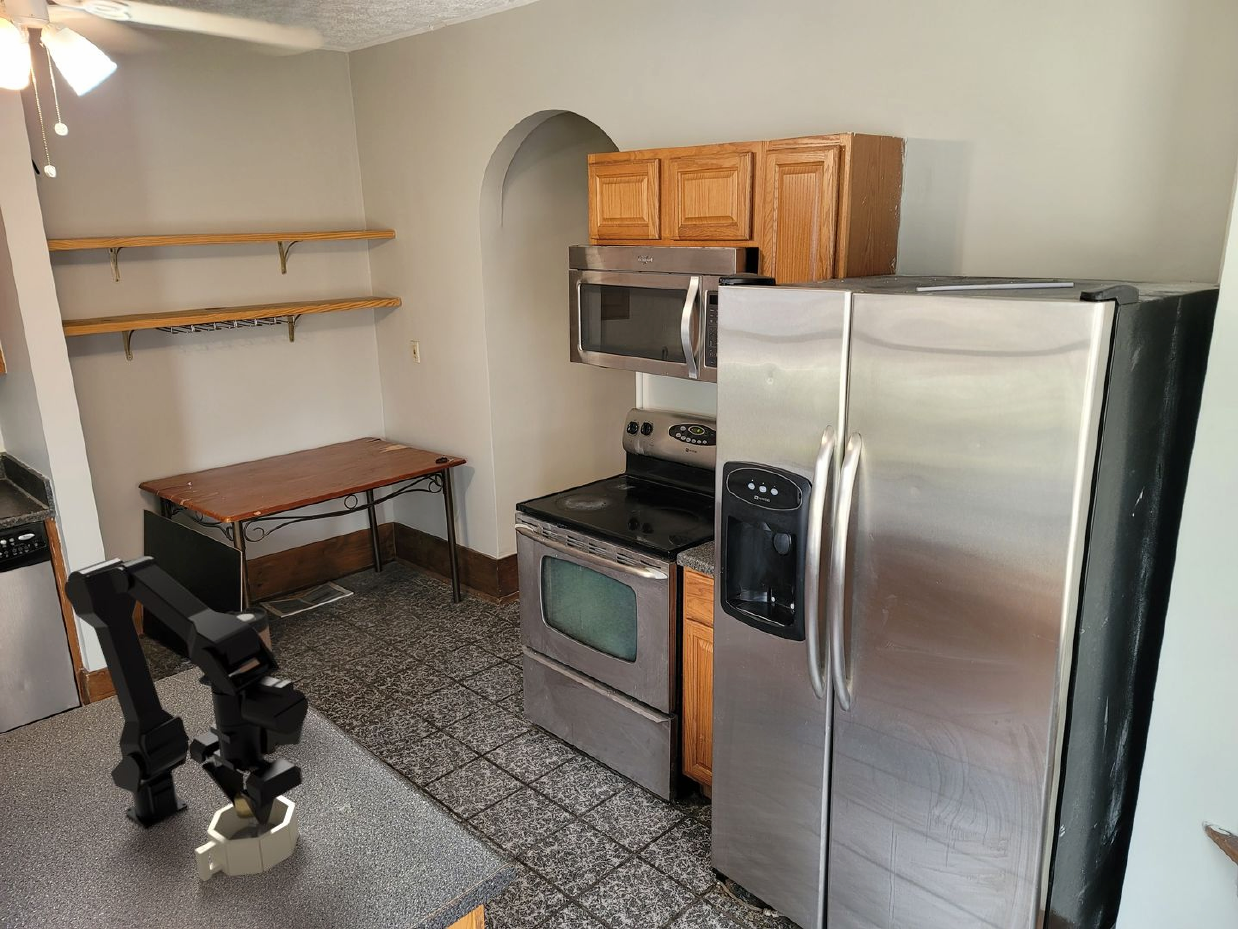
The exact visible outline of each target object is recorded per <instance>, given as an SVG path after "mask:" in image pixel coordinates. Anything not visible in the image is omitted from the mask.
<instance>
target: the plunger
mask: <svg viewBox="0 0 1238 929" xmlns="http://www.w3.org/2000/svg"><path fill="white" fill-rule="evenodd" d="M244 789H245V788H244ZM244 789H243V790H244ZM241 791H242V790H241ZM241 791H240V792H238V793H237V794H236V795H235V797H234V801H235V808H236V815H237V817H239V818H242V819H248V821H249V826H247V827H244V828H242V829H240V830H239V831H237V832H236V833H235V834H234V835H233V836H232V837H231V838H230V840H238V839H248V838H257V837H260V836H261V835H263V834H265V833H267V832H268V831H270V830H272V829H273V828H275V827H277V825H275V824H272V823H265V824H264V825H260V824H259V823H257V822H256V818H255V816H254V814H253V813H252V811H251V809H250V808H249V806H248V804H247V803H246V801H245V799H244V798H243V796H242V794H241Z"/></svg>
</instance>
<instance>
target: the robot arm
mask: <svg viewBox="0 0 1238 929" xmlns="http://www.w3.org/2000/svg"><path fill="white" fill-rule="evenodd" d="M64 594H65V597H66V598H67V600H68V602H69V603H70V604H71V606H72V610H73V611H74V613H75V615H76V616H77V617H78V618H80V619H81V620H83V621H84V622H86V623H87V624H88V625H89V626H91V627H92V628H93V629H94V631H95V632H94V633H95V635H96V636H97V640H98V643H99V645H100V649H101V653H102V655H103V658H104V662H105V664H106V668H107V670H108V673H109V676H110V678H111V681H112V685H113V688H114V691H115V694H116V697H117V700H118V703H119V705H120V709H121V712H122V714H123V718H124V725H123V728H122V732H121V735H120V737H119V738H120V740H119V749H120V753H121V757H122V759H121V760H120V761H119V762H118V764H117V765H115V767H114V768H113V770H112V771H111V772H110V775H111V777H112V778H111V779H112V780H113V783H114V785H115V787H117V788H120V789H122V790H125V791H129V792H131V795H132V796H131V797H132V801H133V802H132V803H133V805H132V806H130V807H129V808H127V809H126V810H125V814H126V815H127V816H128V817H130V818H131V819H132V820H133V821H135V822H136V823H138V825H140V826H142V827H143V828H144V829H149V828H151V827H153V826H155V825H157V824H159V823H160V822H162V821H164V820H166V819H169V818H170V817H172V816H174V815H176V814H178V813H180V812H181V811H183V810H185V809H187V808H188V807H189V805H188V802H187V801H185V800H184V799H181V798H180V797H179V796H178V795H177V790H176V783H175V777H174V772H173V771H174V770H176V769H177V768H180V766H184V765H185V764H186V763H187V756H188V752H189V756H190V759H191V760H193V761H194V762H196V763H197V764H199V765H202V766H201V768H202V770H204V772H206V774H207V775H208V776H209V778H210V779H211V780H212V781H213V782H214V784H215V785H217V787H218V788H219V790H220V791H221V792H222V793H223V794H224V796H225V798H227V799H228V801H229V802H230V804H231V803H232V805H233V806H234V807H235V801H234V797H235V795H236V794H237V793H238V792H240V791H241V790H242V791H241V794H242V796H243V798H244V799H245V801H246V803H247V804H248V806H249V808H250V809H251V811H252V813H253V814H254V816H255V818H256V819H257V821H258V822H259V824H260V825H264V824H265V823H267V822H268V821H269V817H270V813H271V810H272V806H273V802H274V799H275V798H277V797H279V796H280V795H282V796H283V794H286V793H287V792H289V791H291V790H293V789H295V788H296V787H298V786H300V785H302V783H303V773H302V772H303V771H302V770H303V769H302V768H301V767H300V766H298V765H296V764H295V763H294V762H291V761H290V760H288V759H285V758H283V757H278V758H276V759H274V760H272V761H269V760H267V759H265V758H264V756H266V755H267V756H270V755H273V754H274V753H276V752H277V747H281V746H288V745H293V746H298V745H300V744H301V738H302V732H303V729H304V728H303V727H304V724H305V722H304V721H305V719H306V716H307V714H308V710H309V701H308V700H309V699H308V698H307V697H306V695H305V694H304V692H303V691H301V690H300V689H296V688H294V687H295V686H294V682H293V681H292V680H288V679H278V678H276V677H275V678H272V676H271V674H273V673H275V674H276V673H277V672H278V671H279V670H280V668H281V667H280V666H279V664H278V662H277V661H276V659H275V657H276V655H274V654H273V651H272V652H271V651H270V650H269V649H268V647H267V646H266V644H265V643H264V642H263V640H262V639H261V637H260V635H259V634H258V632H257V631H256V630H255V629H254V628H253V627H252V626H251V625H249V624H248V623H246V622H244V621H242V620H241V619H239V618H237V617H236V616H234V615H230V614H226V613H223V612H217V611H214V610H213V609H211V608H210V607H208V606H207V605H206V604H205V603H204V602H202V601H201V600H200V599H199V598H197V597H195V595H194V594H192V593H191V592H190V591H189V590H188V589H186V588H185V587H184V586H183V585H181V584H180V583H179V582H178V581H176V580H175V579H174V578H173V577H171V576H170V575H169V574H167V573H166V572H165V571H164V570H162V569H161V568H160V565H159V563H158V561H156V559H155V558H154V557H152V556H149V555H148V556H145V555H142V556H140V557H136V558H133V559H129V560H125V561H123V560H122V559H120V558H118V557H111V558H108V559H105V560H102V561H99V562H97V563H93V564H92V565H89V566H86V567H83V568H80V569H78V570H75V571H73V572H70V574H69V575H68V577H67V581H65V583H64ZM137 603H139V604H141V606H143V607H144V608H145V609H146V610H147V611H149V612H150V613H152V614H153V616H155V617H156V618H158V619H159V620H160V621H161V622H162V623H164V624H165V625H166V626H167V627H169V629H171V630H172V631H173V632H175V633H176V634H177V635H178V636H179V637H180V638H181V639H183V641H184V642H185V643H186V646H187V649H188V656H189V658H190V659H191V660H192V662H193V663H194V665H196V666H197V667H198V668H199V670H200V671H201V672H202V673H203V674H204V675H202V676H201V677H200V678H199V679H198V682H199V684H201V685H205V686H208V687H210V691H211V700H212V705H213V713H214V720H215V722H214V723H212V724H210V725H209V730H208V731H207V732H205V733H202V734H200V735H198V736H195V737H194V738H193V739H192V741H191V743H189V742H190V741H189V740H190V737H189V735H188V734H187V731H186V729H185V724H184V720H183V718H182V717H180V716H179V715H178V716H174V715H173V714H171V713H169V712H168V711H167V710H165V709H164V708H163V706H162V704H161V701H160V696H159V694H158V692H157V688H156V685H155V682H154V679H153V676H152V672H151V670H150V666H149V662H148V660H147V657H146V654H145V651H144V647H143V644H142V643H141V639H140V636H139V633H138V630H137V626H136V624H135V621H134V612H135V608H136V606H137ZM255 660H257V661H258V662H259V663H260V664H258V665H256V666H254V667H252V668H250V669H249V670H247V671H245V672H243V671H239V669H241V668H243V667H244V666H246V665H248V664H250V663H252V662H254V661H255ZM245 773H249V775H248V777H247V779H246V780H245V779H244V774H245ZM244 780H245V782H244ZM244 783H245V784H244ZM244 785H245V786H244ZM243 789H244V790H243Z"/></svg>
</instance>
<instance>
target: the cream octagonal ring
mask: <svg viewBox="0 0 1238 929" xmlns="http://www.w3.org/2000/svg"><path fill="white" fill-rule="evenodd" d="M256 822H257V823H259V822H258V821H257V819H256ZM267 823H272V824H275V825H277V827H275V828H273V829H272V830H270V831H268V832H267V833H265V834H263V835H261V836H260V837H257V838H248V839H238V840H230V838H231V837H232V836H233V835H234V834H235V833H236V832H237V831H239V830H240V829H242V828H244V827H247V826H249V821H248V819H242V818H239V817H237V815H236V808H235V807H234V806H233V805H232V803H231V802H230V803H229V804H227V805H226V806H224V807H222V808H220V809H218V810H217V811H216V812H215V813H214V815H213V817H212V819H211V822H210V824H209V826H208V828H207V830H206V833H207V840H208V841H207V843H205V844H203V845H201V846H199V847H197V848H195V849H194V852H195V853H194V854H195V860H196V867H197V871H198V878H199V880H202V881H203V882H206V881H209V880H210V879H211V878H213V875H215V874H217V873H218V872H223V873H224V874H225V875H226V876H228V877H235V876H243V875H254V874H262V873H265V872H267V871H268V870H270V869H272V868H274V867H275V866H277V865H278V864H279V863H281V862H283V861H284V860H286V859H287V858H289V857H291V856H292V855H293V853H294V851H295V849H296V848H295V847H296V844H297V840H298V838H299V835H300V834H299V826H298V819H297V811H296V804H295V803H294V802H293V801H292V800H290V799H288V798H287V797H285V796H283V794H282V795H280V796H279V797H277V798H275V799H274V802H273V806H272V810H271V813H270V817H269V821H268V822H267ZM209 855H210V858H209ZM210 861H211V863H210Z"/></svg>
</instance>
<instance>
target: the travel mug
mask: <svg viewBox="0 0 1238 929" xmlns="http://www.w3.org/2000/svg"><path fill="white" fill-rule="evenodd" d="M225 614H230V615H234V616H236V617H237V618H239V619H241V620H242V621H244V622H246V623H248V624H249V625H251V626H252V627H253V628H254V629H255V630H256V631H257V632H258V634H259V635H260V637H261V639H262V640H263V642H264V643H265V644H266V646H267V647H268V649H269V650H270V651H271V652H272V653H273V649H272V644H271V643H272V642H271V636H270V634H271V633H270V629H269V627H270V626H269V621H268V613H267V610H265V609H264V608H262V607H255V606H251V607H250V606H249V607H245V609H244V610H241V611H234V610H231V611H228V612H226V613H225ZM258 664H260V663H259V662H258V661H257V660H255V661H254V662H252V663H250V664H248V665H246V666H244V667H243V668H241V669H239V671H243V672H245V671H247V670H249V669H250V668H252V667H254V666H256V665H258ZM271 676H272V678H275V679H276V672H275V673H273V674H271Z"/></svg>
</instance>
